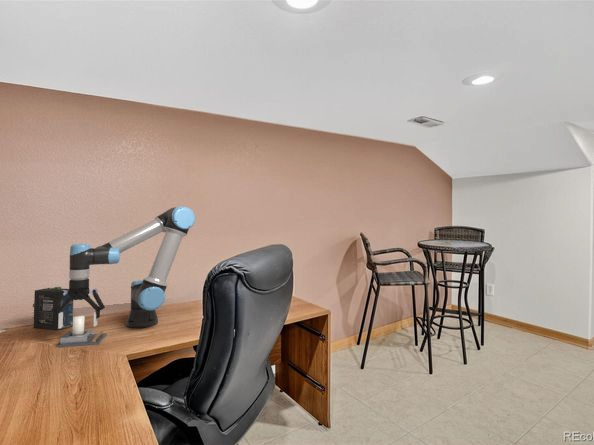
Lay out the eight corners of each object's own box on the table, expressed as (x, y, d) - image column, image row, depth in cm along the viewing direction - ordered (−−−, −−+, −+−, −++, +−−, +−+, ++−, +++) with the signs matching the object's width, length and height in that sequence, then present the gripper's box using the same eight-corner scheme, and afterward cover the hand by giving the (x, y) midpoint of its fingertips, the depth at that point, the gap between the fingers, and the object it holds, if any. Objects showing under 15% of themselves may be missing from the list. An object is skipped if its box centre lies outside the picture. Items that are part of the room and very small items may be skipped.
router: (61, 330, 165) (62, 289, 165) (30, 328, 168) (32, 288, 169) (75, 326, 172) (76, 287, 173) (45, 323, 176) (46, 285, 176)
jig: (106, 335, 159) (106, 327, 159) (98, 344, 146) (99, 336, 146) (67, 337, 154) (67, 330, 154) (56, 347, 142) (56, 339, 142)
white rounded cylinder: (85, 337, 152) (86, 315, 153) (81, 340, 148) (82, 317, 148) (74, 337, 151) (74, 315, 151) (70, 341, 147) (71, 317, 147)
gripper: (112, 276, 157) (111, 322, 157) (50, 278, 150) (49, 326, 150) (108, 279, 150) (107, 327, 150) (42, 280, 143) (41, 331, 143)
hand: (78, 326), depth 150 cm, fingers open, 13 cm apart
